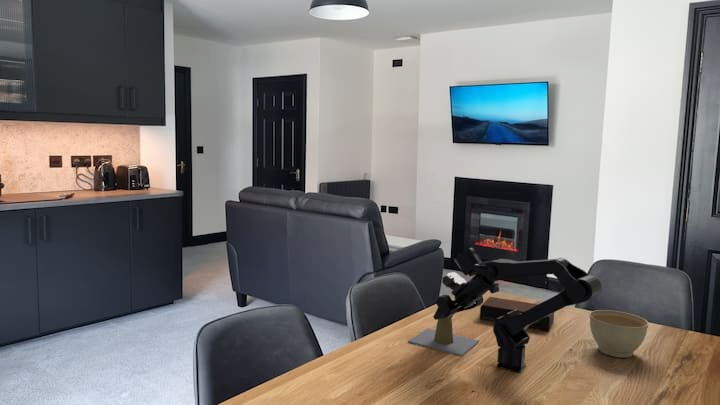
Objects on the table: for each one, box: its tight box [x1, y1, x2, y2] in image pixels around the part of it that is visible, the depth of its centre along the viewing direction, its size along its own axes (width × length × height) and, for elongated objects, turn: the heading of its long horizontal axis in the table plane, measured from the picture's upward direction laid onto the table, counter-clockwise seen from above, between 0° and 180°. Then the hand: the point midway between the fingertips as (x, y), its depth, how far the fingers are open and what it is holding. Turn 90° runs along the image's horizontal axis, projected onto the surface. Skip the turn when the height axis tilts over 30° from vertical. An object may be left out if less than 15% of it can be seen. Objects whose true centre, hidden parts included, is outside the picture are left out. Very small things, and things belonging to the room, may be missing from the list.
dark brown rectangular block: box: [479, 296, 555, 333], centre depth 188 cm, size 24×12×6 cm, turn 63°
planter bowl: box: [589, 309, 649, 358], centre depth 161 cm, size 16×16×11 cm
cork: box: [434, 315, 454, 345], centre depth 164 cm, size 6×6×11 cm
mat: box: [407, 328, 480, 357], centre depth 165 cm, size 18×14×1 cm
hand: (443, 315), depth 165 cm, fingers open, 9 cm apart
